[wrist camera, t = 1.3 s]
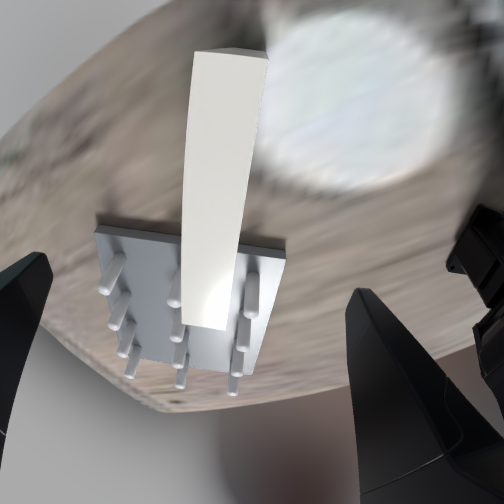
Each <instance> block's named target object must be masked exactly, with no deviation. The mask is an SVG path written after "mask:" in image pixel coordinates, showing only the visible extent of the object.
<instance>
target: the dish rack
mask: <svg viewBox="0 0 504 504" xmlns="http://www.w3.org/2000/svg"><path fill="white" fill-rule="evenodd" d="M94 237H95V243H96V248H97V253H98V259H99V264H100V268H101V273H102V279H101V281H100V283H99V285H98V287H97V289H98V291H99V292H100V293H101V294H103V295H107V299H108V303H109V307H110V311H111V317H110V319H109V322H108V324H107V325H108V327H109V328H110V329H112V330H115V331H116V333H117V336H118V340H119V343H120V344H119V347H118V350H117V355H118V356H120V357H122V358H126V357H127V356H130V358H129V361H128V364H127V367H126V371H125V374H124V376H125V377H127V378H129V379H134V376H135V373H136V369H137V366H138V362H139V359H140V358H143V359H148V360H153V361H158V362H163V363H169V364H172V366H173V367H175V368H178V369H177V374H176V379H175V384H174V386H175V387H176V388H179V389H184V388H185V383H186V377H187V372H188V367H193V368H199V369H206V370H213V371H221V372H229V377H228V388H227V394H228V395H229V396H236V395H238V381H239V377H241V376H242V375H243V374H246V375H252V372H253V369H254V366H255V363H256V359H257V356H258V353H259V350H260V347H261V343H262V340H263V337H264V334H265V330H266V327H267V324H268V320H269V317H270V314H271V310H272V307H273V304H274V300H275V297H276V293H277V290H278V286H279V283H280V280H281V276H282V273H283V269H284V266H285V262H286V251H284V250H277V249H270V248H263V247H256V246H249V245H242V244H238V248H237V255H236V261H235V268H234V274H233V281H232V288H231V294H230V301H229V308H228V314H227V321H226V328H225V330H220V329H213V328H206V327H199V326H193V325H186V324H182V313H181V240H182V236H177V235H170V234H163V233H156V232H148V231H141V230H134V229H126V228H119V227H112V226H104V225H99V226H98V227H97V228H96V230H95V231H94Z"/></svg>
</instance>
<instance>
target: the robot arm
mask: <svg viewBox="0 0 504 504" xmlns="http://www.w3.org/2000/svg"><path fill="white" fill-rule="evenodd" d="M481 211H482V212H481ZM446 268H447V270H448V271H449V272H452V273H459V274H465V275H467V276H468V278H469V279H470V281H471V283H472V284H473V286H474V288H475V289H477V291H478V293H479V295H480V297H481V298H482V300H483V302H484V304H485V306H486V307H487V308H489V310H490V311H489V312H488V313H487V314H486V315H485V316H484V317H483V318H482V320H481V321H480V322H479V323H476V324H475V325H474V326H473V328H472V329H473V333H474V338H475V343H476V348H477V354H478V359H479V366H480V370H481V376H482V378H483V379H484V381H485V382H486V384H487V385H488V386H489V388H490V389H491V390H492V392H493V394H494V395H495V397H496V399H497V402H498V404H499V407H500V410H501V413H502V416H503V419H504V212H502V211H499V210H497V209H494V208H491V207H488V206H486V205H483V204H481V205H479V206H478V207H477V208H476V210H475V212H474V214H473V216H472V218H471V220H470V222H469V224H468V226H467V228H466V230H465V232H464V234H463V236H462V237H461V239H460V241H459V243H458V245H457V247H456V248H455V250H454V252H453V254H452V255H451V257H450V259H449V261H448V262H447V264H446ZM52 281H53V272H52V269H51V267H50V264H49V261H48V258H47V256H46V254H45V253H42V252H32V253H30V254H29V255H27V256H25V257H24V258H22V259H21V260H19V261H17V262H16V263H14V264H13V265H11V266H9V267H8V268H6V269H5V270H3V271H2V272H0V468H1V461H2V455H3V449H4V443H5V438H6V433H7V428H8V423H9V419H10V415H11V411H12V406H13V403H14V399H15V395H16V392H17V388H18V385H19V381H20V378H21V375H22V371H23V368H24V365H25V362H26V359H27V356H28V353H29V350H30V347H31V344H32V341H33V339H34V336H35V333H36V331H37V328H38V326H39V323H40V320H41V316H42V313H43V310H44V306H45V303H46V300H47V297H48V294H49V290H50V287H51V284H52ZM345 321H346V345H347V366H348V374H349V382H350V389H351V398H352V406H353V415H354V424H355V434H356V444H357V457H358V469H359V485H360V494H361V495H360V504H504V438H503V437H502V436H500V434H499V433H498V432H497V431H496V430H495V429H494V428H493V427H492V426H491V425H490V423H489V422H488V421H487V420H486V419H485V418H484V417H483V416H482V415H481V414H480V413H479V412H478V411H477V410H476V408H475V407H474V406H473V405H472V404H471V403H470V402H469V401H468V400H467V399H466V397H465V396H464V395H463V394H462V393H461V392H460V390H459V389H458V388H457V387H456V386H455V384H454V383H453V382H452V381H451V380H450V378H449V377H446V374H445V373H444V371H443V370H442V369H441V368H440V367H439V365H438V364H437V363H436V362H435V361H434V359H433V358H432V357H431V356H430V355H429V354H428V352H427V351H426V350H425V349H424V348H423V347H422V346H421V344H420V343H419V342H418V341H417V340H416V339H415V338H414V336H413V335H412V334H411V333H410V332H409V331H408V330H407V328H406V327H405V326H404V325H403V324H402V323H401V322H400V321H399V320H398V318H397V317H396V316H395V315H394V314H393V313H392V312H391V311H390V310H389V309H388V307H387V306H386V305H385V304H384V303H383V302H382V301H381V300H380V299H379V298H378V297H377V295H376V294H375V293H374V292H373V291H372V290H371V289H368V288H356V289H355V290H354V292H353V294H352V296H351V299H350V301H349V303H348V305H347V308H346V312H345Z"/></svg>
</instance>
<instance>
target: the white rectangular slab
mask: <svg viewBox="0 0 504 504" xmlns="http://www.w3.org/2000/svg"><path fill="white" fill-rule="evenodd" d="M268 62H269V58H268V55H267V52H264V51H257V50H250V49H242V48H234V47H232V48H220V49H210V50H202V51H195V54H194V62H193V71H192V80H191V89H190V99H189V110H188V122H187V134H186V148H185V164H184V182H183V205H182V240H181V313H182V324H186V325H193V326H199V327H206V328H213V329H220V330H225V328H226V321H227V314H228V308H229V301H230V294H231V288H232V281H233V274H234V268H235V261H236V255H237V248H238V242H239V235H240V229H241V223H242V216H243V210H244V204H245V198H246V191H247V185H248V179H249V173H250V167H251V161H252V155H253V149H254V143H255V137H256V131H257V125H258V119H259V113H260V107H261V102H262V96H263V90H264V84H265V79H266V73H267V67H268Z"/></svg>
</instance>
